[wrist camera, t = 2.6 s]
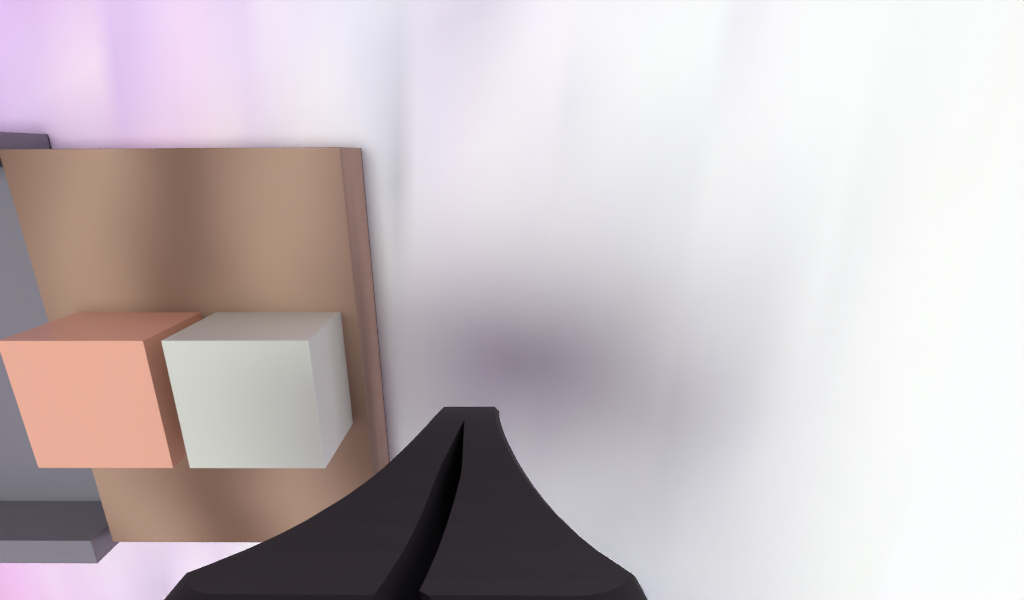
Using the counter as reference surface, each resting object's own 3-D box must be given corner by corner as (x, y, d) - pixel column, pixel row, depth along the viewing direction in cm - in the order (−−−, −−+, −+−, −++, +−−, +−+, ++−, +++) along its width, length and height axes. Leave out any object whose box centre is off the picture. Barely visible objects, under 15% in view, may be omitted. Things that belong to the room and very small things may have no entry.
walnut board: (361, 148, 16) (339, 147, 14) (392, 505, 20) (379, 542, 18) (60, 150, 16) (-3, 149, 14) (151, 504, 20) (113, 541, 18)
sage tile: (340, 311, 15) (308, 340, 13) (352, 423, 17) (325, 468, 14) (215, 312, 16) (161, 341, 13) (236, 423, 17) (190, 467, 14)
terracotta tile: (200, 312, 16) (142, 340, 13) (222, 423, 17) (173, 468, 14) (76, 312, 16) (-4, 340, 13) (106, 423, 17) (38, 467, 14)
